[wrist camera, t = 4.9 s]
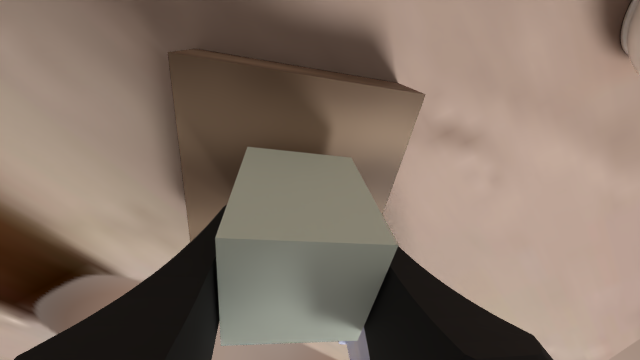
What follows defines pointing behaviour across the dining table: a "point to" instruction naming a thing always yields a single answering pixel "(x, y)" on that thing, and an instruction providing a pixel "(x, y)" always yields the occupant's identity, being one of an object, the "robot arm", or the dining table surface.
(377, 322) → the robot arm
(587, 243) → the dining table surface
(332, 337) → the sage block
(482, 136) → the dining table surface
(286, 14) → the dining table surface
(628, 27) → the lidded jar
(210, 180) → the walnut box
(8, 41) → the dining table surface
